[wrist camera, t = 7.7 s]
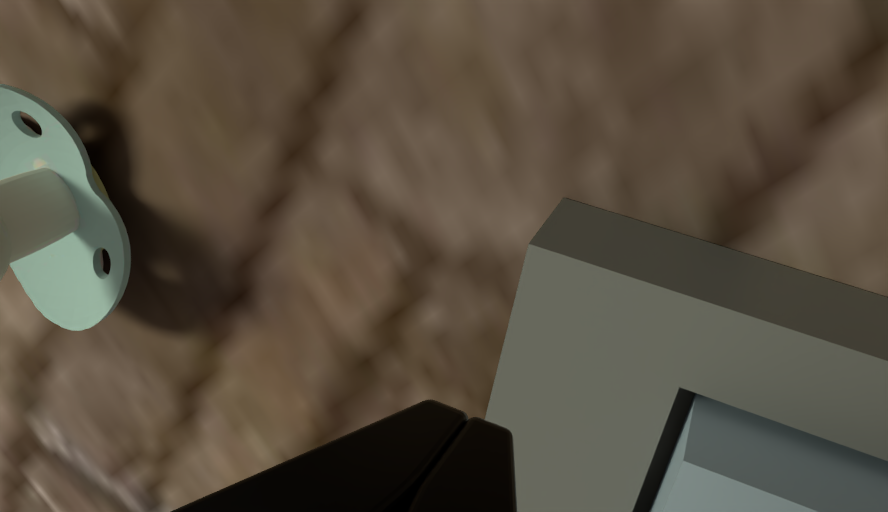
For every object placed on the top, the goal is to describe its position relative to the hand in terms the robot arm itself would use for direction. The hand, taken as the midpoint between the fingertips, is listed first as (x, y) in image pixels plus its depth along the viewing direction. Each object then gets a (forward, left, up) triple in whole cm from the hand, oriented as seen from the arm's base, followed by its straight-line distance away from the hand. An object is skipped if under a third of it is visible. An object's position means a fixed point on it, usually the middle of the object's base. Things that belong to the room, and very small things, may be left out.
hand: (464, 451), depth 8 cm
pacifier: (+16, +7, -12) cm, 22 cm away
